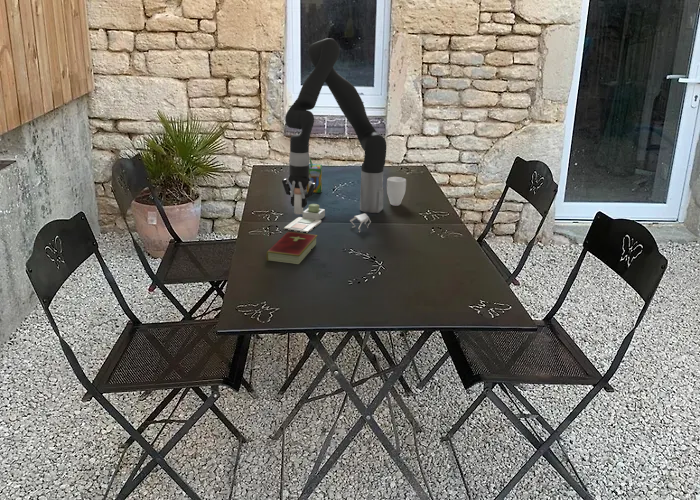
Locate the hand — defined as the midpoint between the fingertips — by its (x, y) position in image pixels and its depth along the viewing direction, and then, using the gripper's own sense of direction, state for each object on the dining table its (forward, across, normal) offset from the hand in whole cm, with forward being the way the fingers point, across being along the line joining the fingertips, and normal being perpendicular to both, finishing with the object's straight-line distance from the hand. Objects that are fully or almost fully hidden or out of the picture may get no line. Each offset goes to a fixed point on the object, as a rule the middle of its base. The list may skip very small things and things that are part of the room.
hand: (298, 206), depth 259 cm
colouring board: (+9, 0, -3) cm, 10 cm away
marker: (+3, 0, 0) cm, 3 cm away
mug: (+9, -25, -49) cm, 56 cm away
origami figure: (+9, -22, -10) cm, 26 cm away
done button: (+7, 0, -14) cm, 16 cm away
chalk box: (+9, +16, -50) cm, 54 cm away
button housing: (+9, 0, -14) cm, 17 cm away
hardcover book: (+10, -8, +23) cm, 27 cm away
